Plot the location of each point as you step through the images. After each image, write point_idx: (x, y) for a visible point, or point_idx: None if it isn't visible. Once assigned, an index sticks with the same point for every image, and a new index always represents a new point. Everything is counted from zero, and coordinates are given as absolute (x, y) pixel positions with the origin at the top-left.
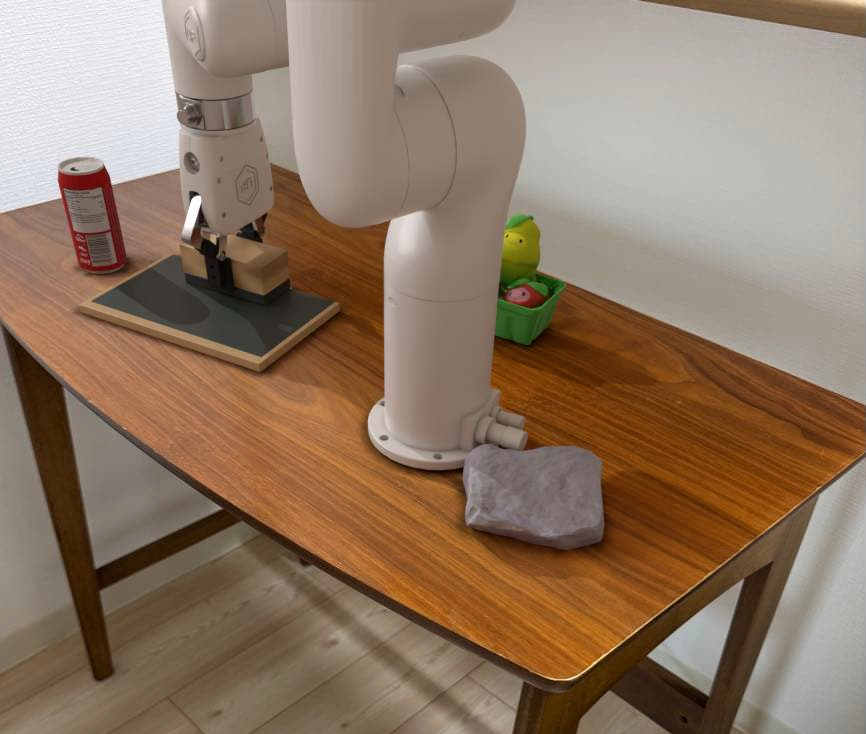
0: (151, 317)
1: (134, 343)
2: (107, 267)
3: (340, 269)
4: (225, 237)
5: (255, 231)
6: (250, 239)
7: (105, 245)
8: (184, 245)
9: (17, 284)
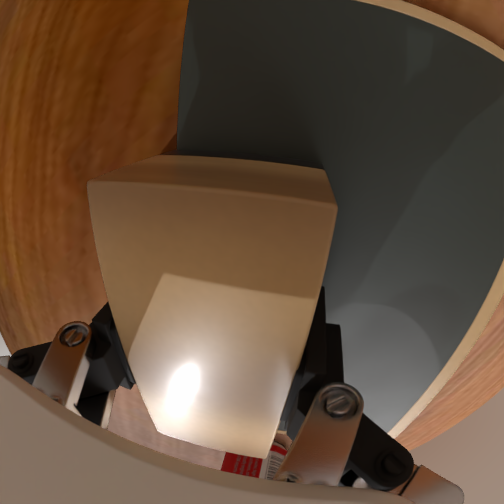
0: (433, 370)
1: (480, 347)
2: (279, 450)
3: (44, 132)
4: (299, 463)
5: (91, 355)
6: (122, 350)
7: (271, 476)
8: (266, 454)
9: None
